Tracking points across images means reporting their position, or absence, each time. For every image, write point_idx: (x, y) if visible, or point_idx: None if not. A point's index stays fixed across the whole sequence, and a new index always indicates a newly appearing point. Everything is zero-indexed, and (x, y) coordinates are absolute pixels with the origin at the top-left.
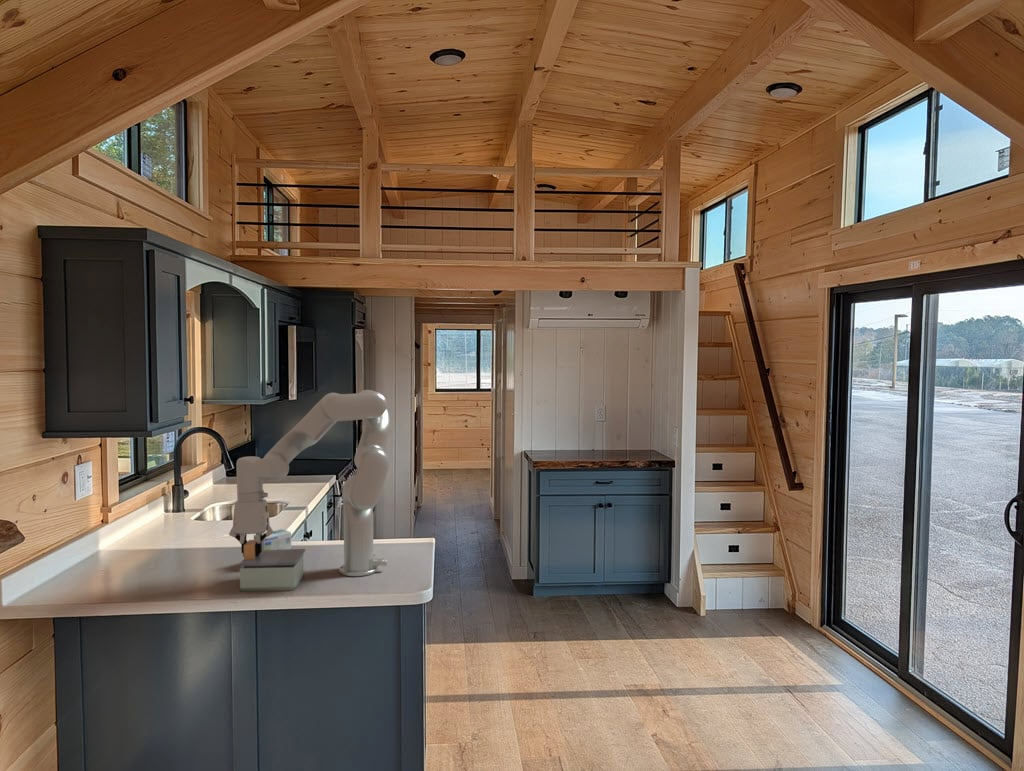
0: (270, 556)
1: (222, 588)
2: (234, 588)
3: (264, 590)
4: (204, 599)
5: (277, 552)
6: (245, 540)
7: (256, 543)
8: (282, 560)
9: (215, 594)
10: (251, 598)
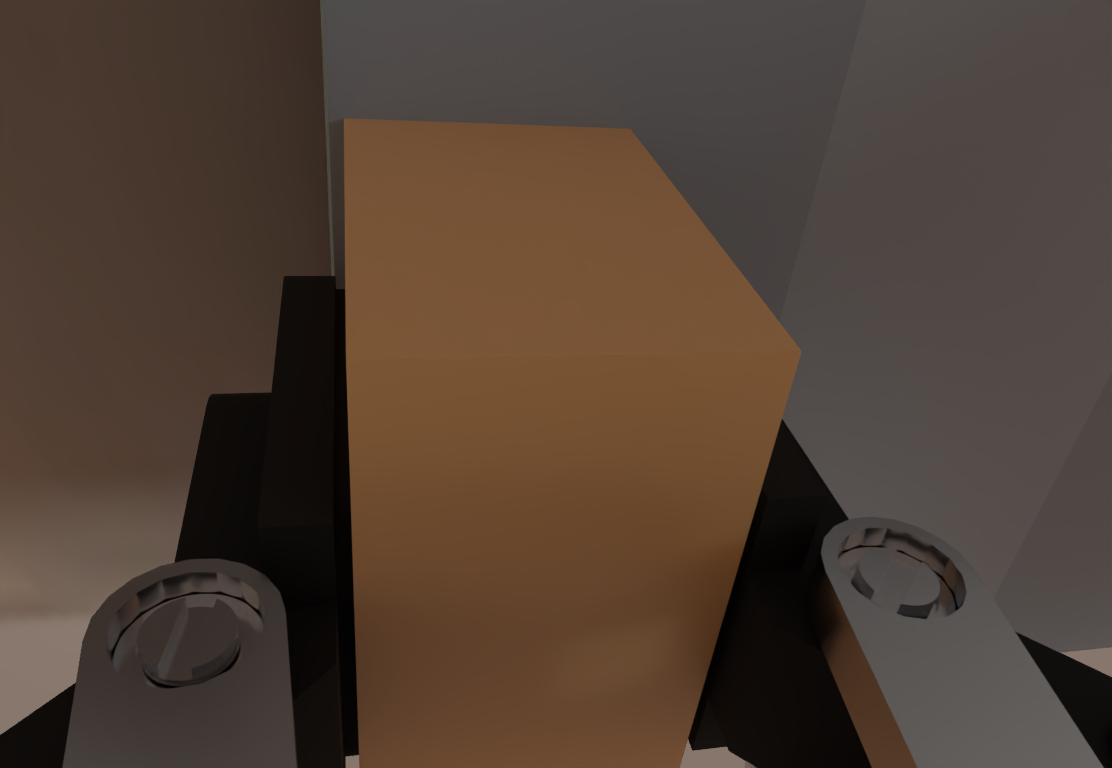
0: (889, 385)
1: (21, 289)
2: (214, 298)
3: None
4: (8, 615)
5: (1082, 88)
6: (316, 761)
7: (720, 722)
8: (1052, 584)
9: (54, 488)
10: None
